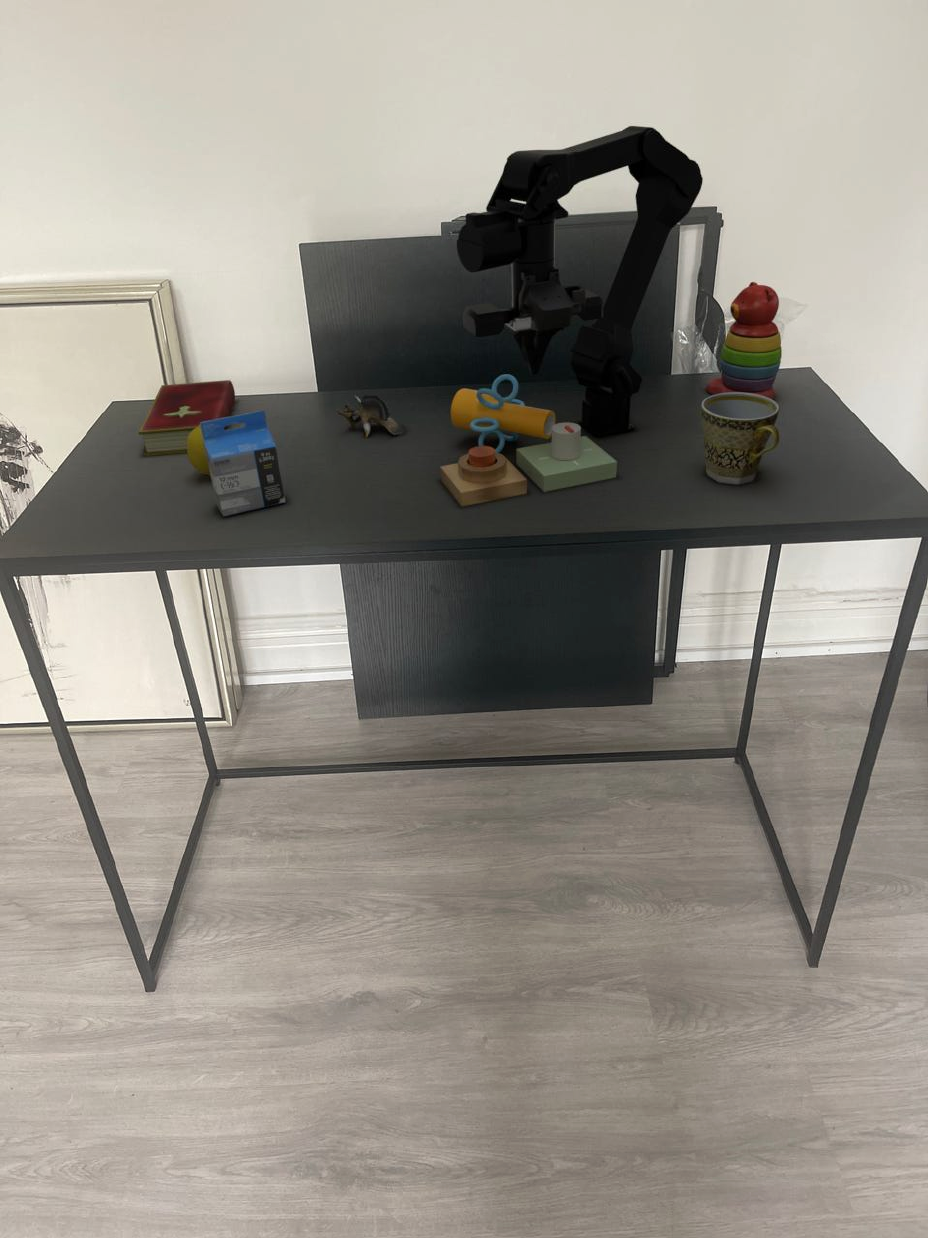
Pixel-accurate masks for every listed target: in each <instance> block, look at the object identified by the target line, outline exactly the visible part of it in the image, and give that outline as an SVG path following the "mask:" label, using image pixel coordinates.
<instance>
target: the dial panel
mask: <svg viewBox="0 0 928 1238" xmlns="http://www.w3.org/2000/svg"><path fill="white" fill-rule="evenodd" d="M515 452H516V466H518V467H519V469H521V471H523V472H524V473H525V474H526V475H527V476H528V478H530V479H531V480H532V482H533V483H534V484H536V486H538V488H540V490H541V491H542V492H543V493H545V492H549V491H551V492H552V491H555V490H560V489H564V488H571V487H575V486H580V485H586V484H589V483H595V482H600V481H604V480H610V479H615V478H617V469H618V461H617V460H616V459H614V457H612V456H611V455H610V454H608V453H607V452H606V451H605V450H604V449H602V448H601V447H600V446H599V445H598V444H596V443H595V442H593V440H592V439H590V438H589V437H588V436H587V435H583V436H581V438H580V456H579V457H578V458H576V459H573V460H559V459H555V458H554V457H552V441H550V442H545V443H541V444H535V445H530V446H529V445H528V446H524V447H519V448H516V451H515Z"/></svg>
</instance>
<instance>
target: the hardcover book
mask: <svg viewBox="0 0 928 1238" xmlns="http://www.w3.org/2000/svg"><path fill="white" fill-rule="evenodd" d="M235 402H236V392H235V387H234V384H233V382H232V381H231V380H230V379H225V380H223V379H222V380H212V381H199V382H187V383H186V382H185V383H172V384H161V386H160V388H159V389H158V392H157V394H156V395H155V398H154V399H153V402H152V404H151V406H150V408H149V410H148V412H147V414H146V416H145V418H144V420H143V423H142V425H141V426H140V429H139V431H138V436H139V435H142V437H143V442H144V446H145V451H144V453H143V455H144V457H149V456H150V457H151V456H163V455H174V454H175V455H176V454H187V439H188V436H189V434H190V433H191V432H192V430H194V429H195V428H197V427H198V426H199V425H200V422H205V421H210V420H215V419H220V418H225V417H231V415H232V411H233V408H234V404H235ZM224 430H228V426H225V427H224Z"/></svg>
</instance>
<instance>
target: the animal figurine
mask: <svg viewBox="0 0 928 1238" xmlns="http://www.w3.org/2000/svg"><path fill="white" fill-rule="evenodd" d="M354 398H355V399H356V401H357V402H358V405H359V408H357V409H355V410H353V406H352V405H350V404H349V403H346V404H344V405H343V407H342V408H343V411H342V410H340V409H338V408H335V410H336V413H337V414H338V415H339V416H342V417H344V418H346V420H347V421H348V422H349V424H350V428H351V429H354V428H355V427H356V425H357V424H358V423H361V424H362V426H363V430H364V433H365V438H368V437H369V434H370V433H371V424H372V423H373V424H374V423H376V424H378V425H381V427H384V428H385V430H387V431H388V432H389V433H390V434H391V435H393V436H395V435H396V436H398V435H403V434H404V429H403V426H401V424H400V423H398V421H396V420H395V419H393V417H391V413H390V411H389V407H388V405H387V404H386V402H385V401H384V400H383V399H382V398H381V397H380V396H378V395H376V394H375V395H372V394H368V395H367V394H365V395H363V397H362V398H361V399H360V398H359V397H358V396H356V395H354ZM354 416H358V417H356V418H355V419H354Z"/></svg>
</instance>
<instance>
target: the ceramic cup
mask: <svg viewBox="0 0 928 1238" xmlns="http://www.w3.org/2000/svg"><path fill="white" fill-rule="evenodd" d="M779 412H780V405H779V404H778V402H777V401H775V400H772V399H770V398H767V397H765V396H761V395H757V394H752V393H743V392H729V393H721V394H716V395H714V394H711V395H710V396H708V397H706V398H705V399H703V400H702V402H701V425H702V434H703V440H704V443H703V444H704V456H705V470H706V475H707V476H708V477H709V478H711V479H713V480H714V481H716V482H717V483H719V484H720V483H722V484H729V485H744V484H747V483H751V482H753V481H754V480H755V479H756V475H757V473H758V469H759V465H760V463H761V460H762V457H763V455H765V454H766V453H767V452H769V451H772V450H774V449H775V448H776V447H777V446H778V445H779V442H780V433H779V430H778V428H777V427H776V426H775V425H776V422H777V419H778V416H779ZM771 435H772V436H773V438H774V439H773V441H774V442H773V444H772V445H770V446H769V447H767V448H766V446H767V443H768V441H769V439H770V437H771Z"/></svg>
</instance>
